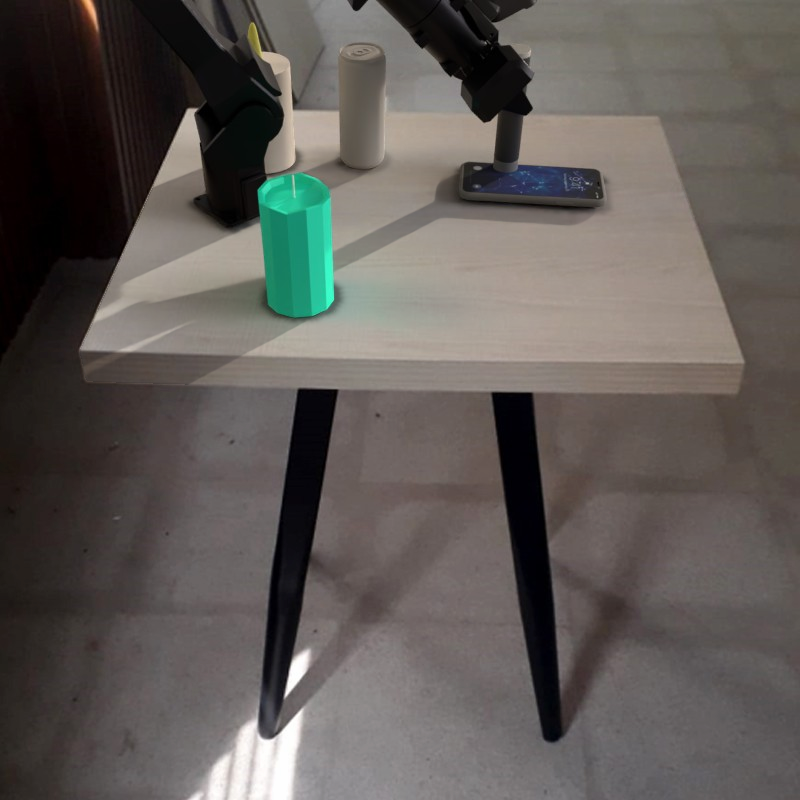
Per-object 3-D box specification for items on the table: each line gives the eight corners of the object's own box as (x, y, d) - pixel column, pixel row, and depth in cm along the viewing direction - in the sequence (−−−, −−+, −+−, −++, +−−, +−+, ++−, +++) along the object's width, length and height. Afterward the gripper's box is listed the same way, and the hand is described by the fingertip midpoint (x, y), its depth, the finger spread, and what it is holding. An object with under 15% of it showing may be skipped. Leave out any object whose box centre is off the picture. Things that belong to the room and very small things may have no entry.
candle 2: (274, 275, 87) (264, 154, 79) (339, 280, 87) (335, 159, 78) (259, 314, 82) (247, 191, 74) (328, 320, 82) (323, 197, 74)
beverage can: (331, 159, 103) (327, 49, 95) (364, 145, 106) (364, 37, 98) (359, 176, 101) (359, 64, 93) (393, 161, 103) (395, 52, 95)
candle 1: (300, 146, 105) (293, 8, 95) (289, 175, 100) (280, 33, 90) (244, 142, 106) (231, 4, 96) (230, 171, 101) (214, 29, 91)
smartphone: (460, 159, 102) (602, 167, 101) (460, 167, 102) (600, 175, 102) (458, 193, 96) (608, 202, 95) (457, 202, 97) (606, 210, 96)
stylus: (493, 175, 100) (505, 53, 91) (492, 163, 102) (503, 42, 93) (518, 176, 100) (532, 54, 91) (516, 164, 102) (530, 43, 93)
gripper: (523, -35, 78) (624, 85, 87) (457, -99, 91) (551, 11, 100) (426, 68, 81) (533, 172, 91) (376, -9, 95) (474, 89, 104)
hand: (524, 105), depth 96 cm, fingers closed on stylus, 2 cm apart
